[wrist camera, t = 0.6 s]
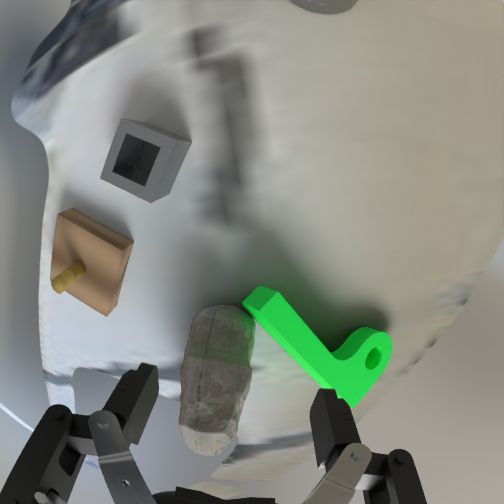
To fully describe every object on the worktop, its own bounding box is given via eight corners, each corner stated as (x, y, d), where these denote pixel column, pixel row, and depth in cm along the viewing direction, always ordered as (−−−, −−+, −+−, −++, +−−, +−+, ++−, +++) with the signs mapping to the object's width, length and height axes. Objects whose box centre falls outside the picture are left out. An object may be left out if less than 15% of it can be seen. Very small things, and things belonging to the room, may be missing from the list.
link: (143, 122, 25) (121, 118, 20) (191, 142, 25) (176, 140, 21) (123, 173, 27) (100, 178, 22) (169, 194, 27) (150, 203, 23)
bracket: (362, 338, 38) (397, 351, 31) (321, 387, 36) (353, 408, 29) (292, 239, 33) (328, 238, 26) (233, 297, 30) (259, 311, 24)
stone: (237, 397, 38) (228, 480, 24) (192, 389, 38) (171, 469, 24) (262, 299, 31) (258, 402, 17) (201, 287, 31) (161, 383, 17)
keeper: (72, 208, 28) (30, 226, 21) (133, 241, 30) (98, 270, 22) (62, 271, 32) (28, 297, 24) (116, 304, 33) (88, 339, 25)
